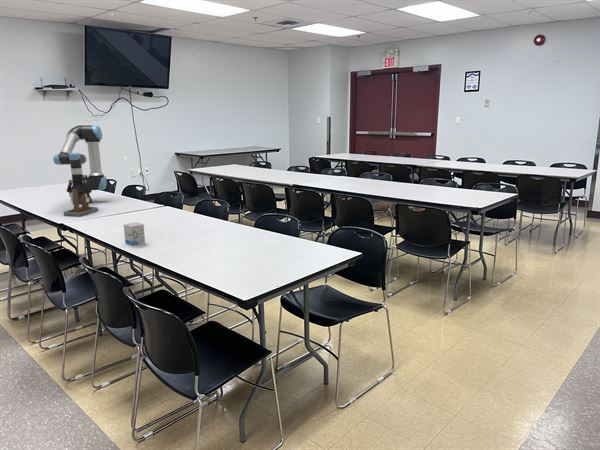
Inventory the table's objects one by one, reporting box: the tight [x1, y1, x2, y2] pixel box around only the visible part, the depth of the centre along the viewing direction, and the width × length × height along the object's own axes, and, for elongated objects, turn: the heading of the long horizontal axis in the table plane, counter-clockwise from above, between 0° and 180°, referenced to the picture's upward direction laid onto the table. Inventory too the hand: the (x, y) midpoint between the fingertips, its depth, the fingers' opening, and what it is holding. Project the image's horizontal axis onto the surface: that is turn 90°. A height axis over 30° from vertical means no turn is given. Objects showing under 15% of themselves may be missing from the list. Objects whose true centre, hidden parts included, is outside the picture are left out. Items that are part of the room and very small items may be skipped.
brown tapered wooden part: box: [72, 189, 90, 213], centre depth 350 cm, size 4×11×18 cm, turn 145°
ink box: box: [123, 221, 146, 246], centre depth 272 cm, size 8×8×12 cm
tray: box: [63, 206, 99, 218], centre depth 352 cm, size 21×14×3 cm, turn 167°
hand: (80, 201), depth 350 cm, fingers open, 13 cm apart
